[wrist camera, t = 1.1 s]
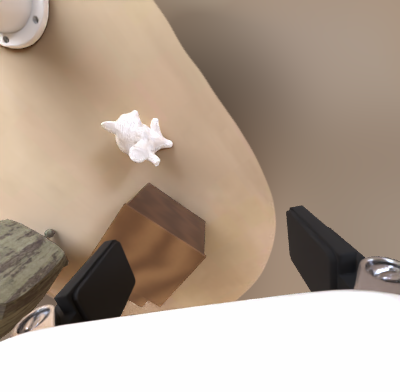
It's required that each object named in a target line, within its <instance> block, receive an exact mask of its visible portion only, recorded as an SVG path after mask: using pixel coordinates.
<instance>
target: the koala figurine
mask: <svg viewBox="0 0 400 392" xmlns="http://www.w3.org/2000/svg"><path fill="white" fill-rule="evenodd" d="M101 126H102V127H103V128H104V129H105V130H107V131H108V132H110V133H113V134H115V135H116V136H115V138H116V143H117V146H118V147H119V149H120V150H121V151H123V152H124V153H125V154H127V155H129V157H130V159H131V160H133V161H134V162H135V163H141V162H143V161H144V160H148V161H150V162H152V163H153V164H154V165H155V166H158V165H159V163H160V159H159V158H158V157H157V155H155V154H154V153H156V151H158V150H159V149H160V148H170V147H172V145H173V143H172V141H170V140H167V139H166V138H164V137H163V136H162V134H161V131H160V127H159V125H158V119H157V118H153V119H152V122H151V128H149V127H148V126H146V125H145V124H142V123H141V120H140V119H139V114H138V112H137V111H136V110H133V111H132V112H131V113H128V114H122V115H121V116H120V117H119V119H118V120H117V121H106V122H103V123H102V124H101Z"/></svg>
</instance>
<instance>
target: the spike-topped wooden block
mask: <svg viewBox="0 0 400 392" xmlns="http://www.w3.org/2000/svg"><path fill="white" fill-rule="evenodd" d="M54 234H55V232H54V230H52V229H49V230H47V231H46V232H45V236H42V235H41V234H39V233H37V232H35V231H34V230H32V229H30V228H28V227H26V226H24V225H22V224H20V223H18V222H15V221H12V220H2V221H0V339H1V338H2V337H3V336H5V335H6V334H7V333H9V332H10V331H11V330H12V329H13V328H14V327H15V325H16V324H17V323H18V322H19V321H20V320H21V319H22V318H23V317H25V316H26V315H27V314H28V313H30V312H32V310H33V309H34V308H35V307H36V306H37V304H38V303H39V302H40V301H41V300H42V298H43V297H44V296H45V294H46V293H47V291H48V290H49V288H50V287H51V285H52V284H53V282H54V281H55V279H56V277H57V276H58V274H59V273H60V271H61V270H62V268H63V267H64V266H67V265H68V263H69V261H68V260H67V258H66V256H65V253H64V252H63V250H62V249H61V248H60V247H59V246H58V245H56V244H55V243H53V242H52V241H50V240H49V239H47V237H49V238H50V237H53V236H54Z"/></svg>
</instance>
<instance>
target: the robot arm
mask: <svg viewBox="0 0 400 392" xmlns="http://www.w3.org/2000/svg"><path fill="white" fill-rule="evenodd" d="M48 15H49V3H48V0H0V45H2V46H5V47H9V48H16V49H20V48H25V47H28V46H30V45H32V44H34V43H35V42H36V41H37V40H38V39H39V38H40V37H41V35H42V34H43V32H44V30H45V27H46V25H47V20H48ZM286 216H287V226H288V239H289V251H290V256H291V260H292V262H293V263H294V265H295V266H296V268H297V270H298V271H299V273H300V274H301V276H302V278H303V279H304V281H305V282H306V284H307V286H308V287H309V289H310V290H311V292H306V293H297V294H289V295H281V296H274V297H265V298H258V299H250V300H242V301H234V302H227V303H219V304H212V305H204V306H196V307H189V308H181V309H174V310H167V311H159V312H152V313H145V314H137V315H130V316H123V317H120V316H121V314H122V312H123V310H124V308H125V305H126V303H127V301H128V299H129V297H130V294H131V292H132V290H133V288H134V286H135V277H134V274H133V272H132V269H131V267H130V265H129V262H128V260H127V257H126V255H125V253H124V250H123V248H122V245H121V243H120V242H119V241H117V240H109V241H105V242H103V244H102V245H101V246H100V247H99V248H98V249H97V250H96V251H95V253H94V254H93V255H92V256H91V257H90V258H89V259H88V260H87V262H86V263H85V264H84V265H83V266H82V267H81V268H80V269H79V271H78V272H77V273H76V274H75V275H74V276H73V277H72V278H71V280H70V281H69V282H68V283H67V284H66V285H65V286H64V287H63V289H62V290H61V291H60V292H59V293H58V294H57V295H56V296H55V298H54V299H55V300H56V302H57V305H56V307H55V308H54V306H52V305H45V306H41V307H39V308H37V309H35V310H33V311H32V312H30V313H28V314H27V315H26V316H25V317H23V318H22V319H21V320H20V321H19V322H18V323H17V324H16V325H15V327H14V328H13V330H12V332H11V336H10V338H9V339H6V340H4V341H1V342H0V392H400V261H398V260H395V259H391V258H387V257H379V256H378V257H377V256H376V257H375V256H374V257H368V258H365V257H364V256H363V255H362V254H360V253H359V252H358V251H357V250H356V249H354V248H353V247H352V246H351V245H350V244H348V243H347V242H346V241H345V240H344V239H343V238H341V237H340V236H339V235H338V234H337V233H335V232H334V231H333V230H332V229H331V228H329V227H327V226H325V225H324V224H323V223H322V222H321V221H320V220H318V219H317V218H316V217H315V216H314V215H313V214H312V213H310V212H309V211H308V210H307V209H306V208H305V207H303V206H296V207H291V208H290V210H289V211H287V212H286Z"/></svg>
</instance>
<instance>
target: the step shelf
mask: <svg viewBox="0 0 400 392" xmlns="http://www.w3.org/2000/svg"><path fill="white" fill-rule="evenodd" d="M109 240H117V241H119V242H120V243H121V245H122V248H123V250H124V253H125V255H126V257H127V260H128V262H129V265H130V267H131V269H132V272H133V274H134V277H135V286H134V288H133V290H132V292H131V294H130V297H129V299H128V300H129V301H131V302H133V303H135V304H136V305H138V306H140V307H143V305H144V304H145V303H146V302H147V301H148V300H149V301H151V302H152V303H154V304H156V305H158V306H159V307H161V305H162V304H163V303H164V302H165V301H166V300H167V299H168V298H169V297H170V296H171V295H172V293H173V292H174V291H175V290H176V289H177V288H178V287H179V286H180V285H181V284H182V283H183V281H184V280H185V279H186V278H187V277H188V276H189V275H190V274H191V273H192V272H193V271H194V270H195V268H196V267H197V266H198V265H199V264H200V263H201V262H202V261H203V260H204V259H205V258H206V255H204V247H205V221H204V220H202V219H201V218H200V217H198V216H197V215H195V214H194V213H192V212H191V211H189V210H188V209H186V208H185V207H183V206H182V205H181V204H179V203H178V202H176V201H175V200H173V199H172V198H170V197H169V196H167V195H166V194H165V193H163V192H162V191H160V190H159V189H157V188H156V187H154V186H153V185H151V184H150V183H148V184H147V185H146V186H145V187H144V188H143V189H142V190H141V191H140V192H139V193H138V194H137V195H136V196H135V197H134V198H133V199H132V200H130V201H129V202H128V203H127V204H126V203H125V204H124V205H123V207H122V208H121V210H120V211H119V213H118V214H117V216H116V217H115V219H114V220H113V222H112V224H111V225H110V227H109V228H108V230H107V231H106V233H105V234H104V236H103V237H102V239H101V240H100V242H99V243H98V245H97V247H96V248H95V250H94V251H93V253H92V254H91V256H92V255H93V254H94V253H95V251H96V250H97V249H98V248H99V247H100V246H101V245H102V244H103V242H105V241H109ZM91 256H90V257H91ZM90 257H89V258H90Z"/></svg>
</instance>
